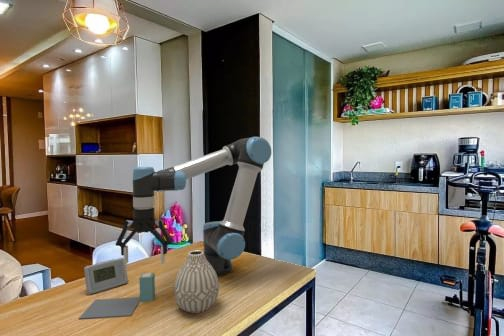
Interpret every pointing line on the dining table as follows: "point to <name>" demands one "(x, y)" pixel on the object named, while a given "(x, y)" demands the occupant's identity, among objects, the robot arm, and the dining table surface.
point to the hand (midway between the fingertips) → (144, 263)
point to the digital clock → (105, 275)
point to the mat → (111, 308)
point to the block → (147, 287)
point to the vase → (196, 284)
